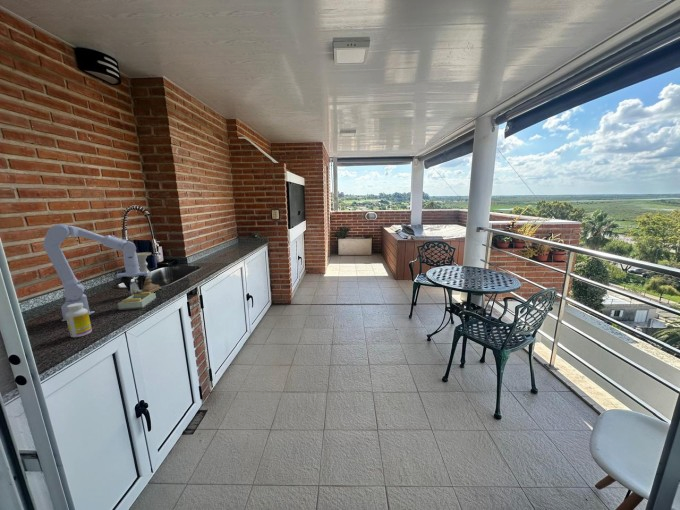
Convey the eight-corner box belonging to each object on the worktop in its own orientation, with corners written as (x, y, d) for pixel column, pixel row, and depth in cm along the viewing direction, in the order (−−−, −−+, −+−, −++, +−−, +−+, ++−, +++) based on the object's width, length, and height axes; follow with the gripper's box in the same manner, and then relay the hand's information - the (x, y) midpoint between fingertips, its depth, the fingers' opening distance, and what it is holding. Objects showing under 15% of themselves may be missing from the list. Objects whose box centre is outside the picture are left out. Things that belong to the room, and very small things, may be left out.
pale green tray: (142, 308, 140) (141, 299, 139) (118, 310, 138) (117, 301, 137) (156, 299, 153) (154, 290, 152) (134, 300, 151) (132, 292, 150)
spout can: (139, 294, 143) (137, 280, 141) (128, 294, 142) (126, 280, 140) (144, 291, 147) (142, 277, 146) (133, 291, 146) (131, 278, 145)
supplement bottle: (96, 330, 116) (90, 301, 114) (82, 337, 109) (76, 307, 107) (80, 330, 116) (74, 302, 113) (65, 338, 109) (58, 308, 107)
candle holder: (144, 289, 171) (138, 252, 167) (162, 289, 171) (156, 251, 167) (131, 295, 160) (124, 255, 156) (150, 295, 160) (143, 255, 156)
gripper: (150, 262, 146) (154, 286, 149) (120, 263, 144) (125, 288, 147) (144, 265, 140) (148, 290, 142) (112, 267, 137) (117, 292, 140)
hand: (136, 289), depth 144 cm, fingers closed on spout can, 5 cm apart
